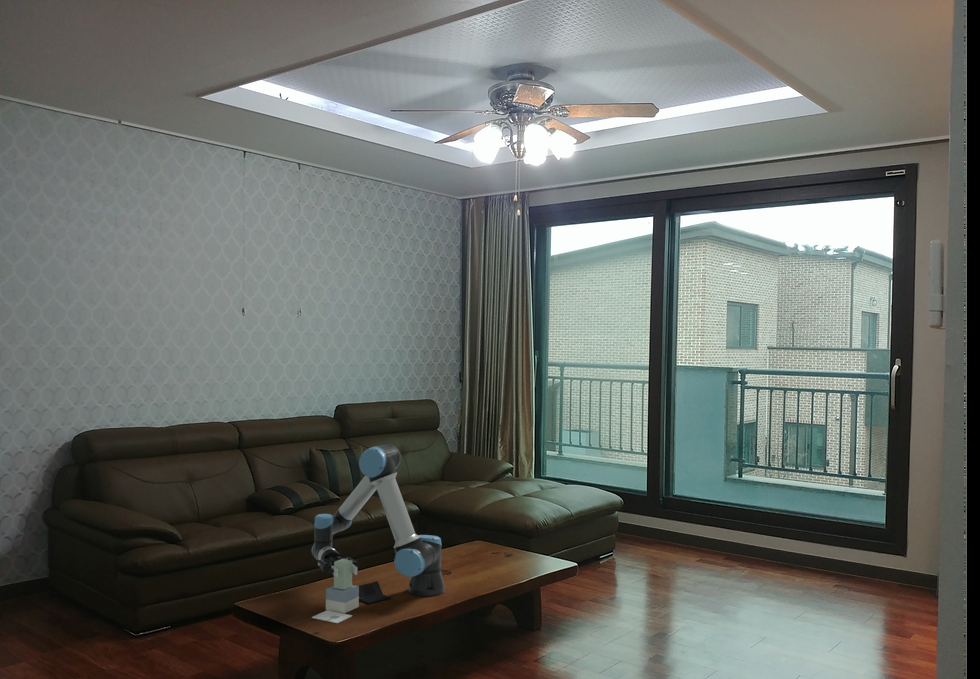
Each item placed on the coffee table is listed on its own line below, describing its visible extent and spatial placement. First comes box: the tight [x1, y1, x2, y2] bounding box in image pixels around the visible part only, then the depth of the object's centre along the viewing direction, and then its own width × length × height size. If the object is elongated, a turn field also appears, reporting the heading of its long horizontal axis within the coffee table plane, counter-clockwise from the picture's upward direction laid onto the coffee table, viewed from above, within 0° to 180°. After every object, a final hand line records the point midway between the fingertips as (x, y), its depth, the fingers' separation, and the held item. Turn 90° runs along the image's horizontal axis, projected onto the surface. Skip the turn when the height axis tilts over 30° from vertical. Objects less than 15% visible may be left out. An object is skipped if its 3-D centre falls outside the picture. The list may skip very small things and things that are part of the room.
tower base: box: [325, 584, 360, 614], centre depth 303 cm, size 9×9×8 cm
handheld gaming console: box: [358, 581, 391, 606], centre depth 315 cm, size 12×7×10 cm
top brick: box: [333, 558, 353, 590], centre depth 303 cm, size 5×5×10 cm
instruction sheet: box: [311, 610, 353, 624], centre depth 293 cm, size 12×9×1 cm
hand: (346, 572), depth 299 cm, fingers closed on top brick, 7 cm apart
